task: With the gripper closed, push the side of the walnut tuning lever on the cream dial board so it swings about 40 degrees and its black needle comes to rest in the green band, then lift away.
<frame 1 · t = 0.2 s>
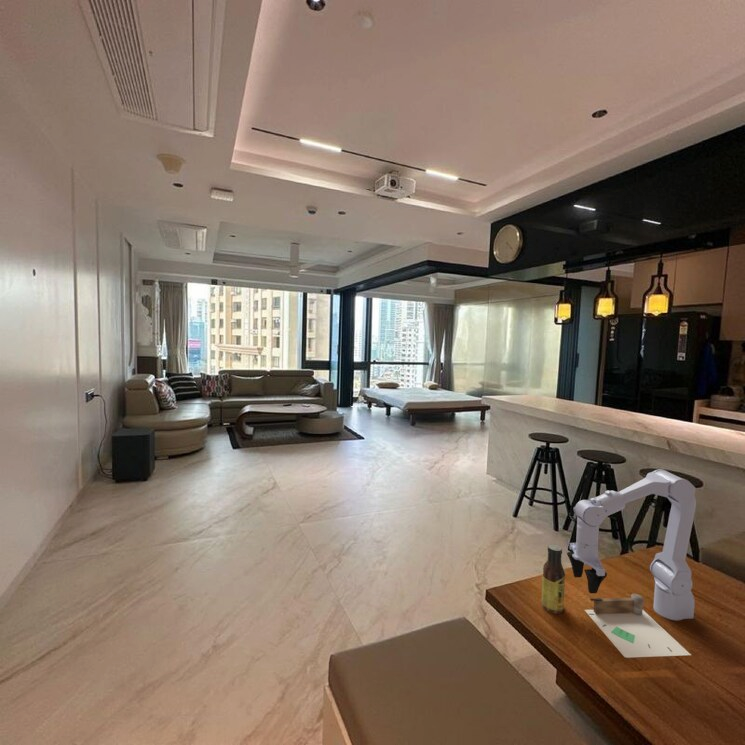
hand: (585, 584, 118), 9 cm above the table, fingers open, 7 cm apart
tuner dial board: (633, 634, 111), on the table
tuning lever: (616, 604, 118), point 4 cm above the table, hinge at 0.0°
sauce bottle: (552, 609, 121), on the table
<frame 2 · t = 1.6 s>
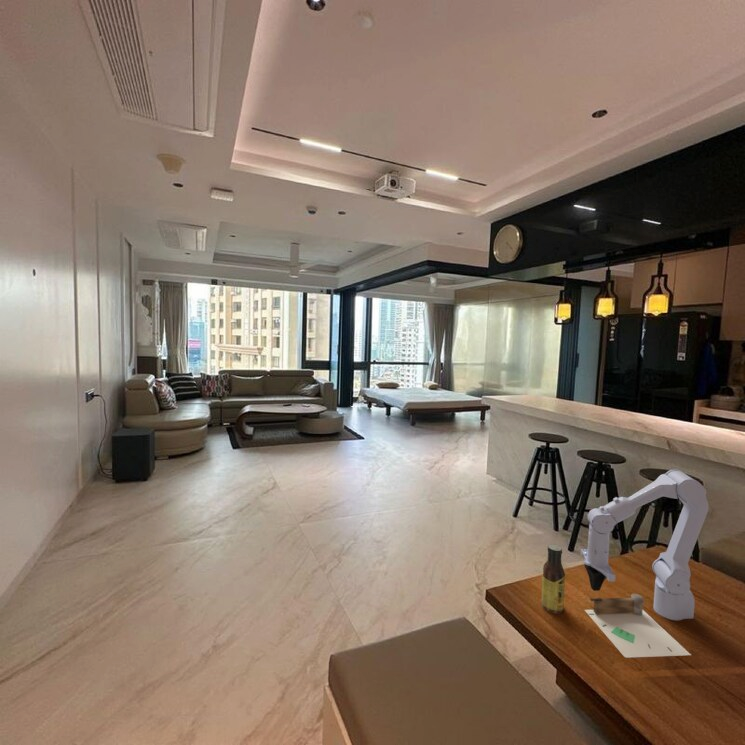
hand: (595, 589, 123), 5 cm above the table, fingers closed
nothing on the table moved.
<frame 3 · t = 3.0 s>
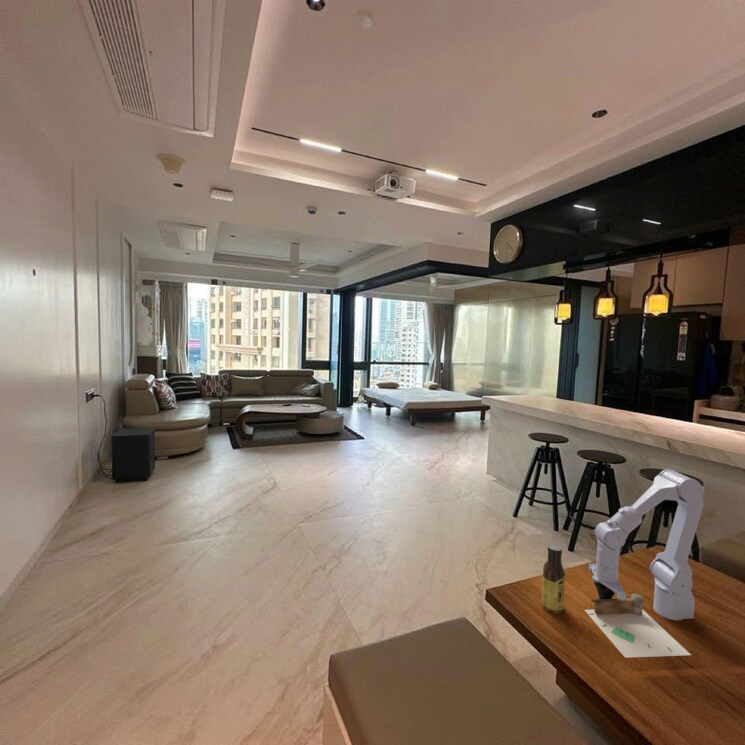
hand: (604, 606, 119), 2 cm above the table, fingers closed
tuning lever: (616, 605, 117), point 4 cm above the table, hinge at 2.1°, touching gripper
everything else where it was.
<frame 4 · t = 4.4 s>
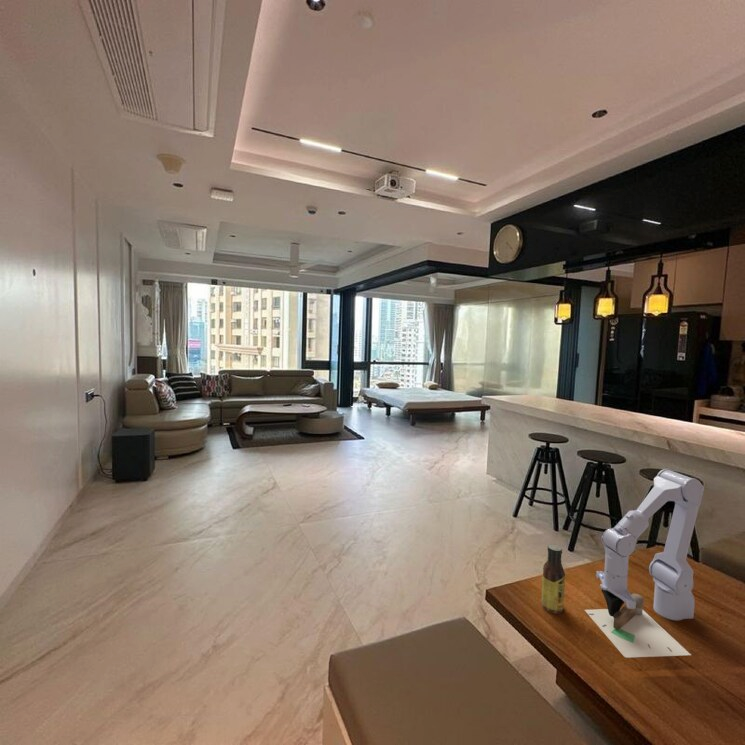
hand: (613, 615, 115), 2 cm above the table, fingers closed
tuning lever: (626, 612, 114), point 4 cm above the table, hinge at 31.1°, touching gripper
everything else where it was.
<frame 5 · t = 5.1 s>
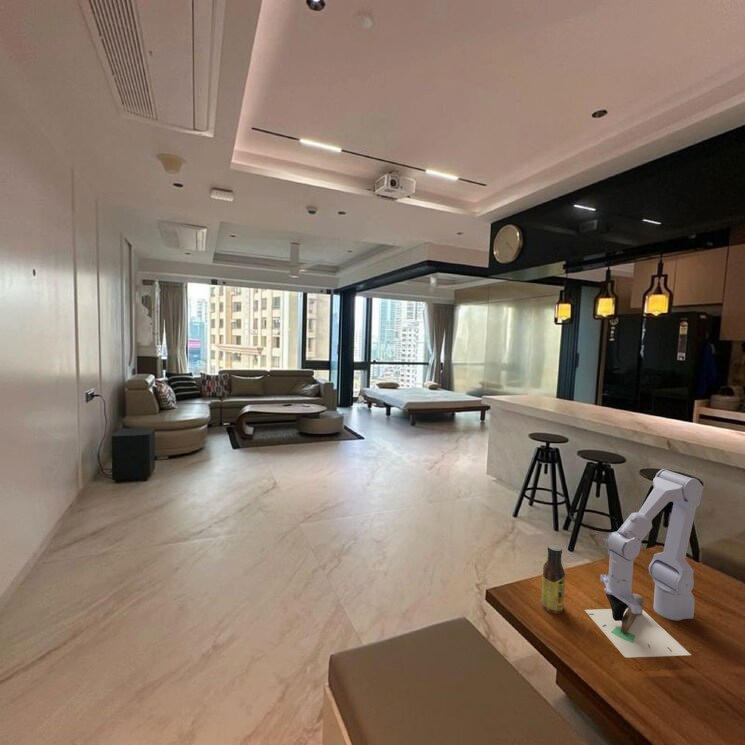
hand: (617, 619, 113), 2 cm above the table, fingers closed
tuning lever: (630, 614, 114), point 4 cm above the table, hinge at 40.0°, touching gripper
everything else where it was.
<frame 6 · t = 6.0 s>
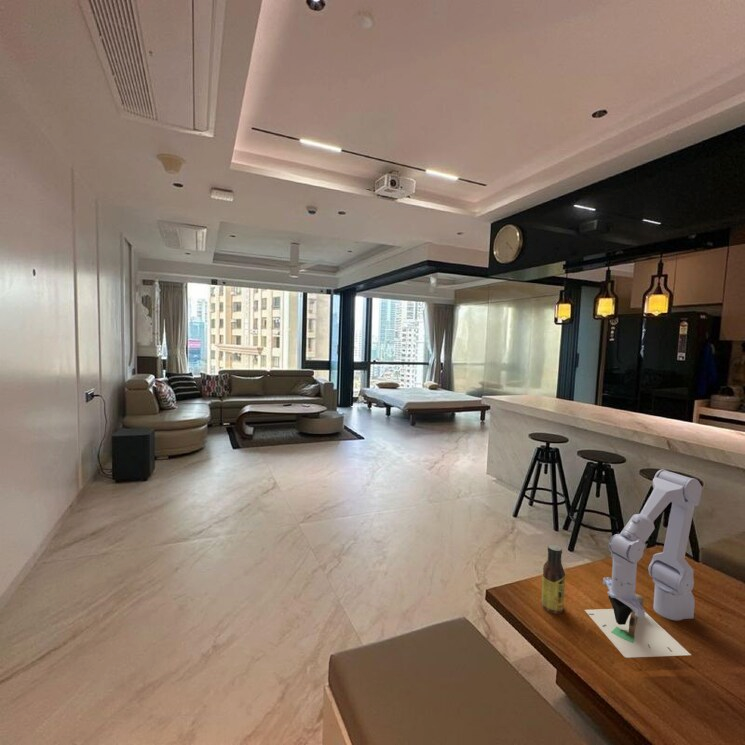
hand: (620, 623, 112), 2 cm above the table, fingers closed
tuning lever: (634, 615, 113), point 4 cm above the table, hinge at 47.7°, touching gripper
everything else where it was.
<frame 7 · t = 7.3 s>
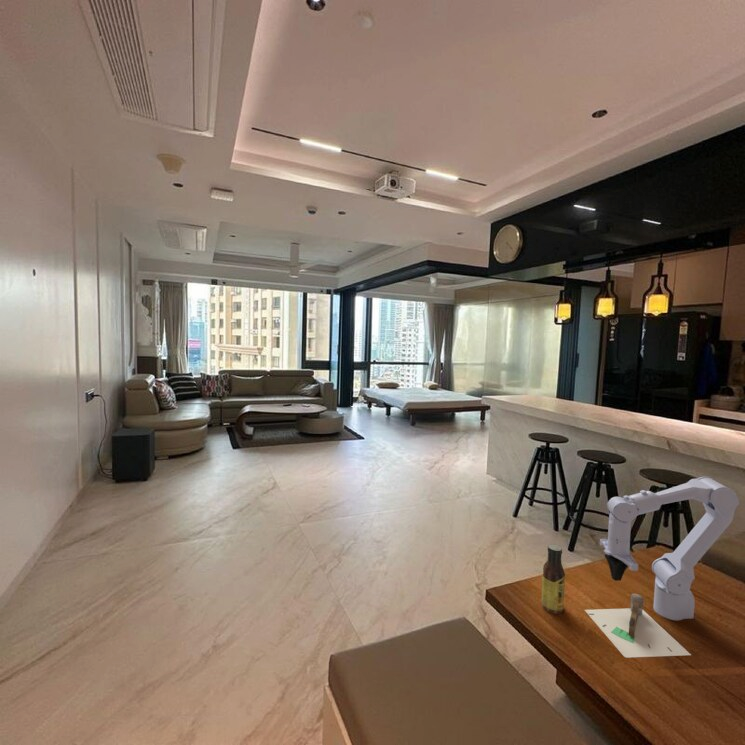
hand: (616, 579, 121), 9 cm above the table, fingers closed
tuning lever: (634, 615, 113), point 4 cm above the table, hinge at 47.8°
everything else where it was.
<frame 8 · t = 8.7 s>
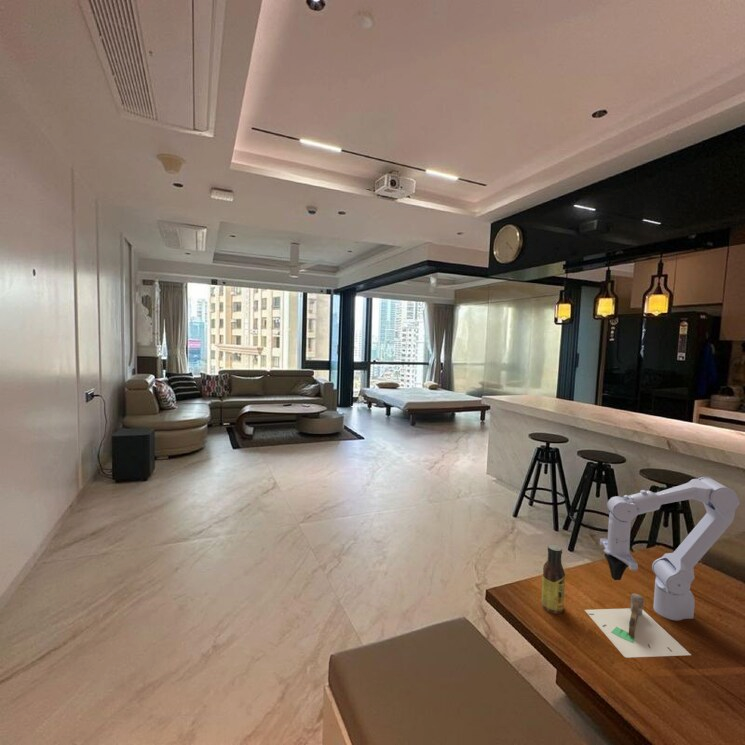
hand: (616, 578, 121), 9 cm above the table, fingers closed
nothing on the table moved.
at the end: tuning lever at +48° (first picture: +0°); the gripper is holding nothing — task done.
